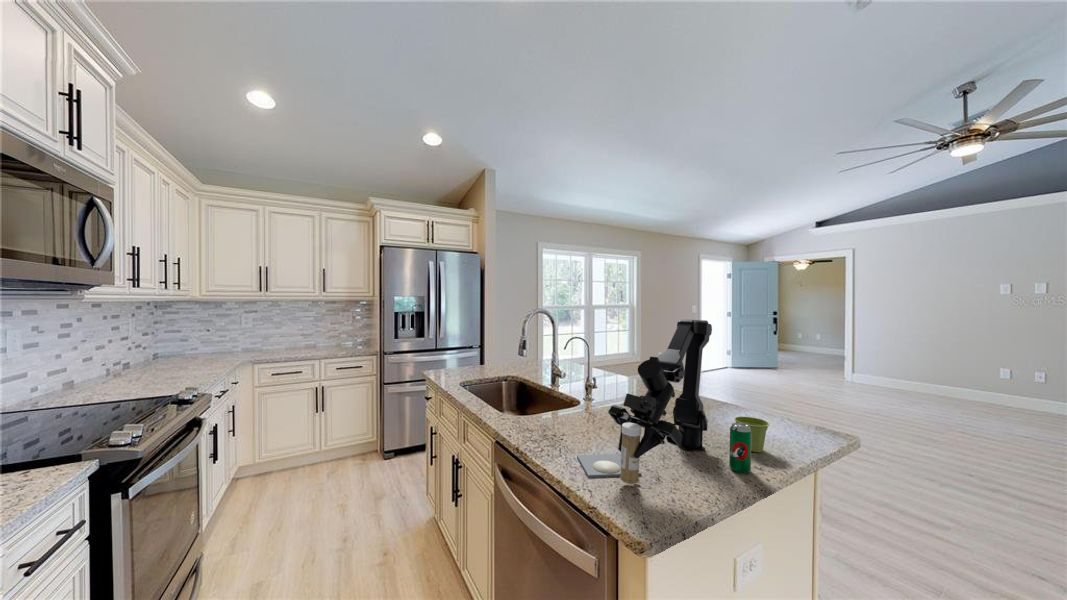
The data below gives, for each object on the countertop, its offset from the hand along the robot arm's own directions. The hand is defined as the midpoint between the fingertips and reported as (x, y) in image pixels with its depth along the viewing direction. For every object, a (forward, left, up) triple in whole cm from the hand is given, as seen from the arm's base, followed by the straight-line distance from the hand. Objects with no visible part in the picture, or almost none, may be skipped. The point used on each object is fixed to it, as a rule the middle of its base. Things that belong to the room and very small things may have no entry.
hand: (627, 453), depth 89 cm
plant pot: (-47, -20, -8) cm, 52 cm away
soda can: (-34, -7, -8) cm, 36 cm away
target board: (+1, -12, -8) cm, 14 cm away
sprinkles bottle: (-1, -1, -7) cm, 7 cm away
